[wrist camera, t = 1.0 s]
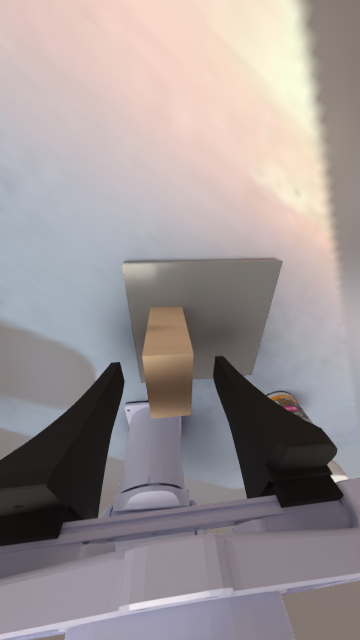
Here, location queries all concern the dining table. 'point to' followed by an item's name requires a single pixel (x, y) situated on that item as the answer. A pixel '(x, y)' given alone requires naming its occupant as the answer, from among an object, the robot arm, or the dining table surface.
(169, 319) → the block
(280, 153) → the dining table surface
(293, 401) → the pill bottle
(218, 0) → the dining table surface
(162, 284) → the board
